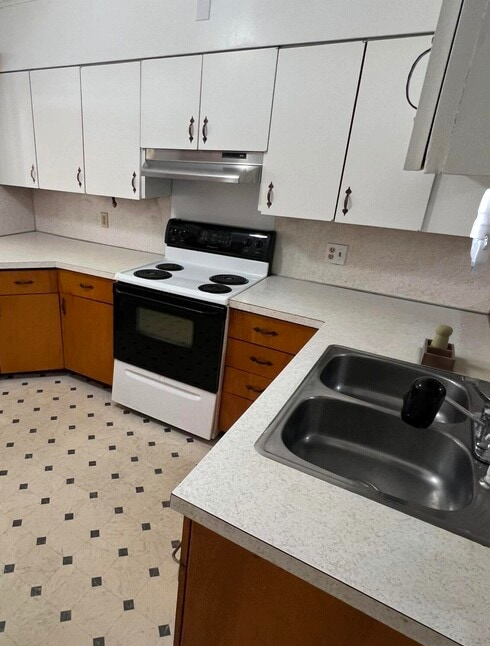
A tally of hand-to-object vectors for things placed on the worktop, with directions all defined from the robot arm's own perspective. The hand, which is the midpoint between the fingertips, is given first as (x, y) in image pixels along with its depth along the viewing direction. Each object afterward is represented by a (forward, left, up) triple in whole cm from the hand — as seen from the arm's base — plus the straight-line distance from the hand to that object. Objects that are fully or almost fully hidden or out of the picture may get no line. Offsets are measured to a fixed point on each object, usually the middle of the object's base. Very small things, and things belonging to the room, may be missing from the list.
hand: (473, 273), depth 151 cm
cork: (+4, +13, -28) cm, 31 cm away
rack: (+4, +17, -29) cm, 34 cm away
